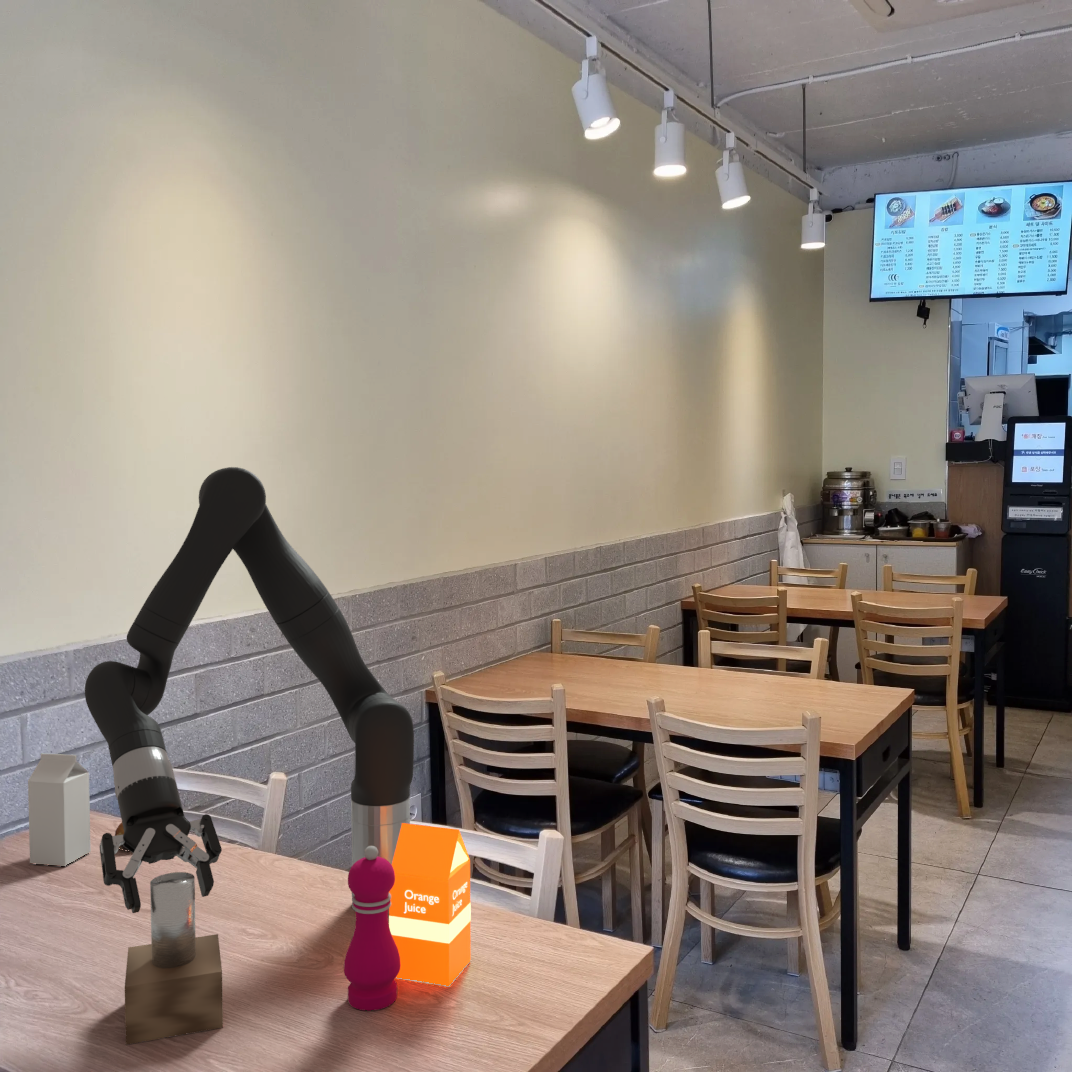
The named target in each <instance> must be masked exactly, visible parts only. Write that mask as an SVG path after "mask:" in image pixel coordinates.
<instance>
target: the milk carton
mask: <svg viewBox="0 0 1072 1072" xmlns="http://www.w3.org/2000/svg"><path fill="white" fill-rule="evenodd" d="M27 790H28V791H27V795H28V797H27V798H28V834H29V835H28V838H29V845H28V846H29V864H30V863H36V864H49V865H60V866H59V867H61V866H65V867H67V866H68V865H67V864H69V863H71V862H73V861H74V862H76V861H77V860H76V859H78V858H80V857H81V856H83V855H85V854H87V853H89V852H90V853H91V810H90V809H91V808H90V807H91V806H90V802H91V801H90V772H89V771H88V770H87V769H86V768H85V767H84V766H83V765H81V764H80V763H79V762H78V761H77V754H76V755H75V754H60V753H57V754H56V753H40V760H39V761H38V763H37V765H36V766H35V769H34V770H33V772H32V773H31V775H30V776H29V778H28V780H27ZM90 853H89V854H90ZM87 855H88V854H87ZM85 856H86V855H85ZM80 859H81V858H80ZM75 860H76V861H75ZM78 860H79V859H78ZM74 862H73V863H74ZM36 864H35V865H36ZM71 864H72V863H71ZM66 865H67V866H66ZM69 865H70V864H69Z"/></svg>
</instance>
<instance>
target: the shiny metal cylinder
mask: <svg viewBox="0 0 1072 1072" xmlns="http://www.w3.org/2000/svg"><path fill="white" fill-rule="evenodd" d="M195 881H196V879H195V875H194V874H192V873H190V872H184V871H182V872H181V871H179V872H178V871H175V872H169V873H164V874H161V875H158V876H156V877H154V878H153V879H151V880H150V882H149V886H150V887H149V889H150V933H151V934H150V935H151V936H150V938H151V939H150V944H151V948H152V964H153V965H154V966H155V967H158V968H175V967H180V966H183V965H186V964H188V963H190V962H191V961H193V960H194V959H195V957H196V936H197V935H196V893H195V892H196V891H195V890H196V887H195V886H196V884H195V883H196V882H195Z"/></svg>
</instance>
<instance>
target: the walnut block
mask: <svg viewBox="0 0 1072 1072" xmlns="http://www.w3.org/2000/svg"><path fill="white" fill-rule="evenodd" d="M125 967H126V970H125V981H124V1018H125V1019H124V1023H125V1045H133V1043H134V1044H139V1043H143V1042H142V1041H145V1042H149V1041H155V1040H160V1038H162V1039H165V1038H164V1037H167V1038H170V1037H169V1036H173V1037H176V1036H175V1035H178V1036H183V1035H182V1034H184V1035H187V1034H186V1033H190V1034H194V1032H195V1033H200V1032H199V1031H201V1032H205V1031H211V1030H217V1029H222V1028H224V1019H223V1018H224V1017H223V1016H224V1015H223V1014H224V1011H223V1008H224V1007H223V1006H224V1004H223V1002H224V1001H223V968H222V967H223V966H222V960H221V950H220V940H219V934H218V933H217V934H209V935H203V936H197V937H196V957H195V959H194V960H193V961H191V962H190V963H188V964H186V965H183V966H180V967H175V968H158V967H155V966H154V965H153V964H152V948H151V943H150V944H142V945H135V946H129V947H128V948H127V957H126V966H125ZM138 1042H139V1043H138Z"/></svg>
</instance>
